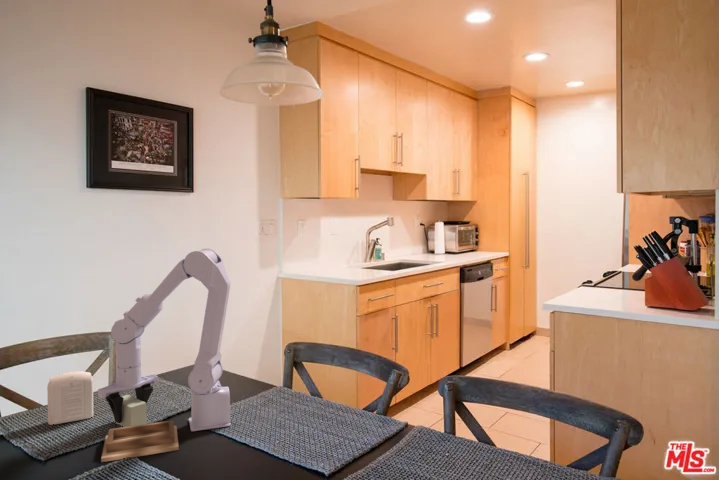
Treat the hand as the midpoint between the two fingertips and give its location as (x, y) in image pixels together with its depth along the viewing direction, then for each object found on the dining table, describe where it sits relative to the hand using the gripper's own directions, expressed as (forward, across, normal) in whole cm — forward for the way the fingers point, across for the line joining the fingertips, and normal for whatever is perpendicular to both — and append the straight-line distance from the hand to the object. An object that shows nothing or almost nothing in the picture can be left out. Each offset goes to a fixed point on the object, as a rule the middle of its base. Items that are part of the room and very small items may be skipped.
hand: (129, 418), depth 129 cm
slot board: (+1, +4, +13) cm, 13 cm away
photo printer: (+2, +8, -14) cm, 16 cm away
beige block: (+2, 0, 0) cm, 2 cm away
